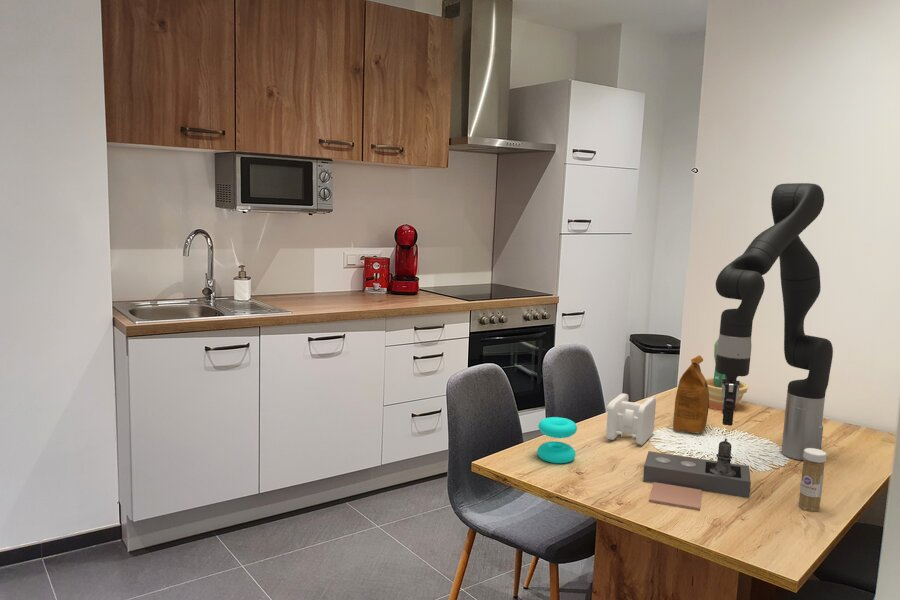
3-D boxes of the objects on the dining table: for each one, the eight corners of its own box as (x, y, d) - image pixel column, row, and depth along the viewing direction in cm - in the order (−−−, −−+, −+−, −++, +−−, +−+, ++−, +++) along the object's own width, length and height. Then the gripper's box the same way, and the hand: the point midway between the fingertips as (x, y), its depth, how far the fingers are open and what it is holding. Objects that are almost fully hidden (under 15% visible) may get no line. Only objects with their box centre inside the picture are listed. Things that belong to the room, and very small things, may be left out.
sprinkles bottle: (795, 507, 162) (801, 450, 160) (801, 501, 165) (806, 445, 163) (817, 513, 159) (823, 456, 157) (822, 507, 162) (828, 450, 160)
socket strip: (747, 481, 176) (749, 465, 176) (749, 498, 166) (750, 481, 165) (647, 465, 184) (648, 450, 184) (643, 481, 174) (644, 464, 174)
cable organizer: (640, 449, 197) (643, 408, 195) (603, 442, 202) (606, 402, 200) (654, 434, 210) (657, 396, 208) (619, 428, 215) (621, 390, 213)
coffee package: (711, 426, 219) (717, 356, 216) (702, 437, 208) (708, 364, 205) (678, 420, 224) (684, 352, 221) (668, 431, 213) (673, 359, 210)
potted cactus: (754, 407, 241) (760, 334, 237) (735, 416, 230) (742, 340, 226) (709, 397, 252) (715, 328, 248) (690, 406, 240) (695, 333, 237)
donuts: (532, 422, 185) (548, 413, 194) (530, 459, 187) (547, 448, 195) (567, 430, 180) (583, 420, 188) (565, 468, 181) (581, 456, 190)
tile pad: (701, 492, 169) (701, 489, 169) (699, 510, 158) (700, 508, 158) (653, 484, 172) (653, 482, 172) (648, 501, 162) (648, 499, 162)
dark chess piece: (736, 491, 170) (741, 443, 168) (710, 488, 171) (714, 440, 169) (732, 482, 175) (736, 435, 174) (707, 479, 177) (711, 433, 175)
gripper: (751, 361, 161) (744, 430, 163) (749, 350, 174) (743, 414, 176) (716, 357, 163) (710, 426, 165) (716, 346, 176) (711, 410, 179)
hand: (727, 420), depth 171 cm, fingers open, 8 cm apart
